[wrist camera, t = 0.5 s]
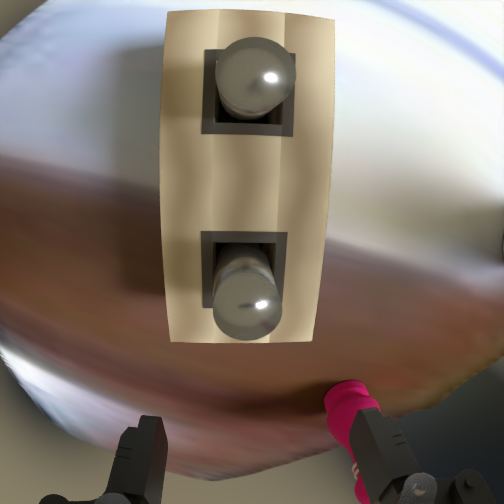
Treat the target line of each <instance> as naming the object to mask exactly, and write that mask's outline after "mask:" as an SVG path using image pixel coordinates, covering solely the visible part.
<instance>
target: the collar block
mask: <svg viewBox="0 0 504 504" xmlns="http://www.w3.org/2000/svg"><path fill="white" fill-rule="evenodd" d="M247 37H263V38H267V39H270V40H273V41H275V42H277V43H278V44H280V45H281V46H283V47H284V48H285V49H286V50H287V51H288V52H289V54H290V55H291V57H292V59H293V61H294V64H295V67H296V81H295V85H294V87H293V89H292V91H291V93H290V94H289V95H288V97H287V98H286V99H285V100H283V101H282V102H281V103H280V104H278V105H277V106H276V107H275V108H273V109H272V110H271V111H270V112H269V118H268V124H252V123H218V118H219V91H218V86H217V82H216V77H215V69H216V64H217V61H218V58H219V56H220V55H221V53H222V52H223V51H224V50H225V49H226V48H227V47H228V46H229V45H230V44H232V43H233V42H235V41H237V40H240V39H243V38H247ZM334 101H335V20H332V19H327V18H321V17H314V16H308V15H300V14H292V13H283V12H272V11H258V10H234V9H208V10H183V11H170V12H168V13H167V22H166V32H165V42H164V54H163V68H162V84H161V106H160V154H159V164H160V214H161V236H162V254H163V268H164V281H165V293H166V304H167V314H168V323H169V332H170V340H171V342H197V343H272V342H301V341H312V336H313V329H314V323H315V316H316V309H317V302H318V295H319V287H320V279H321V271H322V263H323V254H324V245H325V236H326V226H327V216H328V204H329V192H330V179H331V165H332V148H333V128H334ZM217 242H238V243H263V249H264V251H265V253H266V255H267V259H268V262H269V265H270V268H271V271H272V274H273V277H274V281H275V284H276V287H277V290H278V293H279V296H280V300H281V303H282V317H281V320H280V322H279V324H278V325H277V327H276V328H275V329H274V330H273V331H272V332H271V333H270V334H268V335H266V336H265V337H262V338H260V339H257V340H251V341H242V340H237V339H234V338H231V337H229V336H227V335H226V334H224V333H223V332H222V331H221V330H220V329H219V328H218V326H217V325H216V323H215V321H214V317H213V303H214V292H215V281H216V270H217Z"/></svg>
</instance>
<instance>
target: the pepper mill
mask: <svg viewBox="0 0 504 504" xmlns="http://www.w3.org/2000/svg"><path fill="white" fill-rule="evenodd" d="M324 405H325V408H326V411H327V413H328V414H329V415H328V417H327V425H328V428H329V430H330V432H331V434H332V435H333V436H334V438H335V439H336V440H337V441H338V442H340V443H341V444H342V445H343V446H344V447H345V448H346V449H347V450H348V452H349V453H350V455H351V457H352V459H353V463H354V465H353V467H352V471H353V473H354V477H355V479H357V482H356V485H355V495H356V497H357V499H358V500H359V502H360V503H361V504H371V503H370V501H369V498H368V495H367V492H366V489H365V486H364V483H363V480H362V478H361V475H360V472H359V469H358V466H357V463H356V461H355V458H354V455H353V452H352V449H351V447H350V443H349V432H350V429H351V426H352V424H353V421H354V418H355V416H356V413H357V411H358V410H359V409H365V408H371V407H377V408H378V409H379V410H380V408H379V406H378V403H377V401H376V400H375V399H374V398H372V397H370V396H369V394H368V391H367V389H366V387H365V386H364V384H363V383H361V382H359V381H355V380H349V381H344V382H341V383H339V384H337V385H335V386H334V387H333V388H331V389H330V390H329V391H328V392H327V394H326V396H325V398H324ZM380 412H381V411H380Z"/></svg>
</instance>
